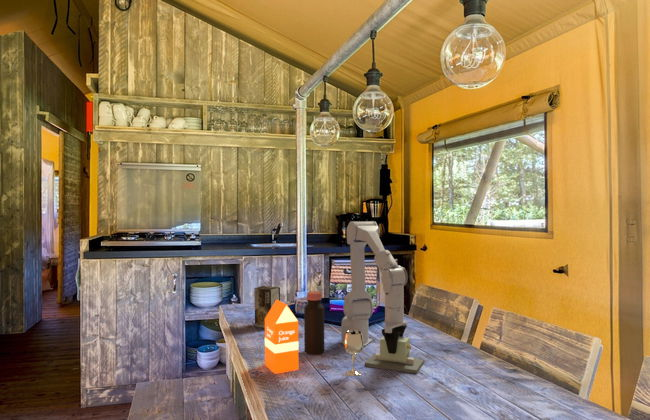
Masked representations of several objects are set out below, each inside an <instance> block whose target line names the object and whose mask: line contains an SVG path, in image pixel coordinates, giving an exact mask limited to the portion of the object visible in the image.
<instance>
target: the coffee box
mask: <svg viewBox="0 0 650 420" xmlns="http://www.w3.org/2000/svg"><path fill="white" fill-rule="evenodd" d="M253 289H254V292H253V293H254V327H256V328H263V329H265V318H266V316H267V314H268V313H269V311H270V309H271V308H272V306H273V304H274V303H275V301H276V299H277V300H279V301H281V287H280V286H272V285H261V286H258V287H254V288H253Z"/></svg>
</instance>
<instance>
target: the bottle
mask: <svg viewBox="0 0 650 420" xmlns="http://www.w3.org/2000/svg"><path fill="white" fill-rule="evenodd" d="M306 300H307V303H306V305H305V306H304V308H303V309H304V313H303V314H304V315H303V316H304V318H303V320H304V323H303V324H304V325H303V326H304V335H303V336H304V339H303V340H304V345H303V346H304V350H303V351H304V353H305V354H307V355H311V356H317V355H321V354H323V353H324V352H325V306H324V305H323V304H322V303H321V302H322V292H321V291H313V290H312V291H308V292H306Z"/></svg>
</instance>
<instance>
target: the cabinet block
mask: <svg viewBox="0 0 650 420" xmlns="http://www.w3.org/2000/svg"><path fill="white" fill-rule="evenodd" d="M410 340H411V339H410V337H406V336H405V337H404V336H403V337H399V338H398V342H397V350H396V353H395V354H391V353H388V349H387V344H386V341H385V338H384V336H383V335H382V337H381V338H379V354H380V359H387V360H394V361H400V362H406V361H407V357H409V358H411V357H410V356H411V354H410V353H411V352H410V350H412V344H411V341H410Z"/></svg>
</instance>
